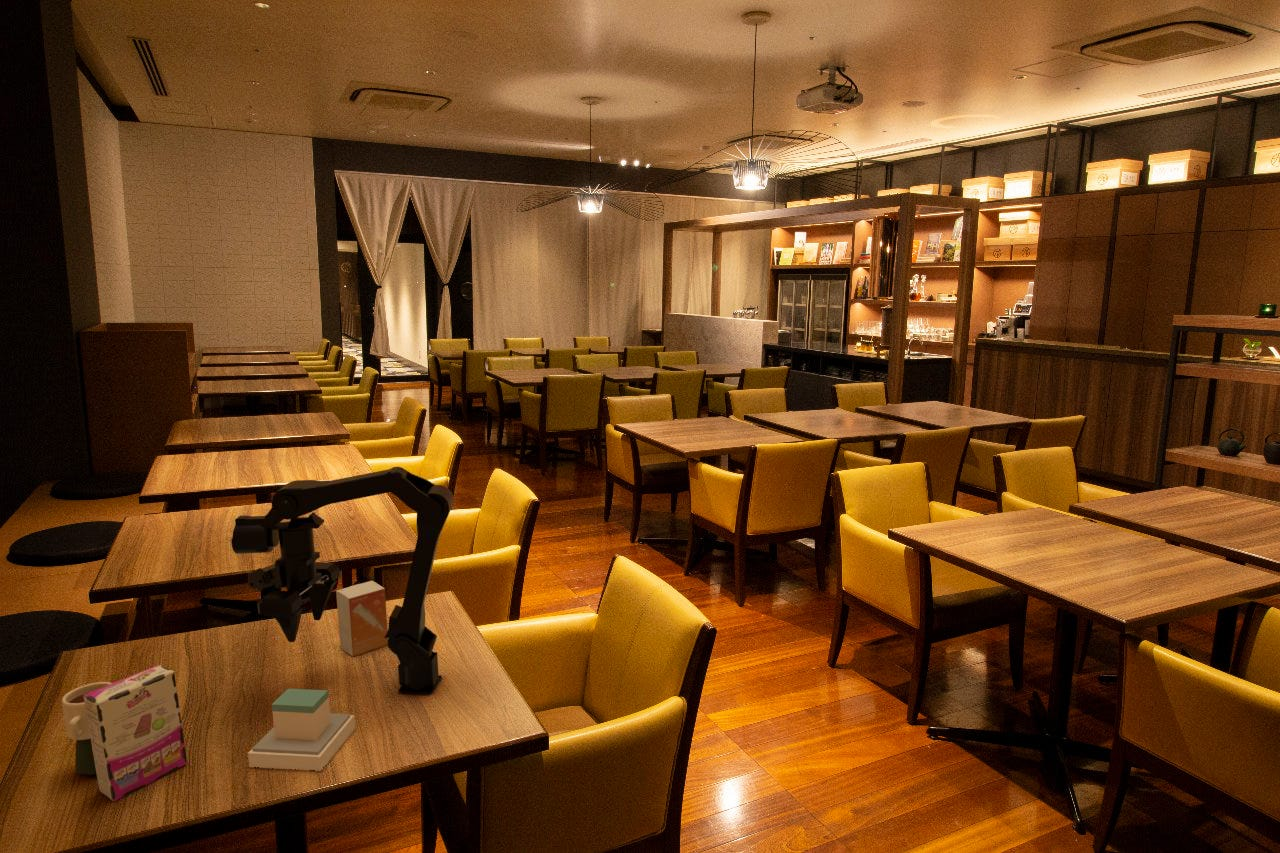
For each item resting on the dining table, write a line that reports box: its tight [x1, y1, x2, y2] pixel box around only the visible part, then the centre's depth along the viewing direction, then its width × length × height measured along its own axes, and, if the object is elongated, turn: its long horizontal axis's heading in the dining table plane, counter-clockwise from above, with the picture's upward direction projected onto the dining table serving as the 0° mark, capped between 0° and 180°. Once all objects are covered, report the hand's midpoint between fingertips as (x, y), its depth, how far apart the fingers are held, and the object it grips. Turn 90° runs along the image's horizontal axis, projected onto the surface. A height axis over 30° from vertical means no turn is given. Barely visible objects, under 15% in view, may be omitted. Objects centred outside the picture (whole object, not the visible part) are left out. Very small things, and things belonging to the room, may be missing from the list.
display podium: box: [247, 712, 356, 772], centre depth 129 cm, size 12×12×3 cm
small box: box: [335, 580, 388, 658], centre depth 164 cm, size 8×6×13 cm
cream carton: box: [271, 688, 331, 740], centre depth 128 cm, size 5×7×6 cm
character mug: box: [61, 681, 113, 775], centre depth 123 cm, size 11×7×13 cm, turn 8°
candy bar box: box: [83, 664, 188, 802], centre depth 120 cm, size 11×5×16 cm, turn 148°
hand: (304, 630), depth 145 cm, fingers open, 9 cm apart
